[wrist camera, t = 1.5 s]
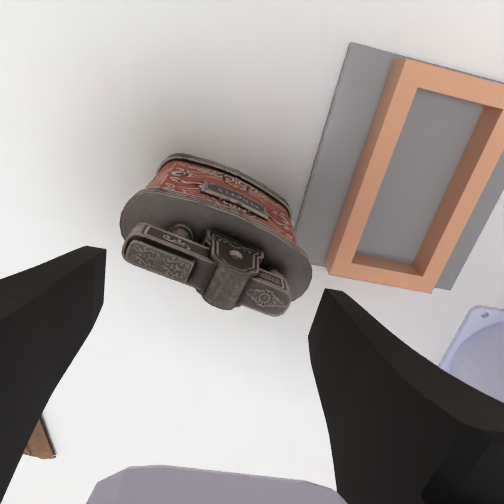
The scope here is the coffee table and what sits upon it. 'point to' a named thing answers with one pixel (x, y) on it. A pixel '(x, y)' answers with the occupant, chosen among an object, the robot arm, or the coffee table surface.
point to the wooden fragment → (39, 444)
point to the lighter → (216, 236)
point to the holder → (403, 172)
